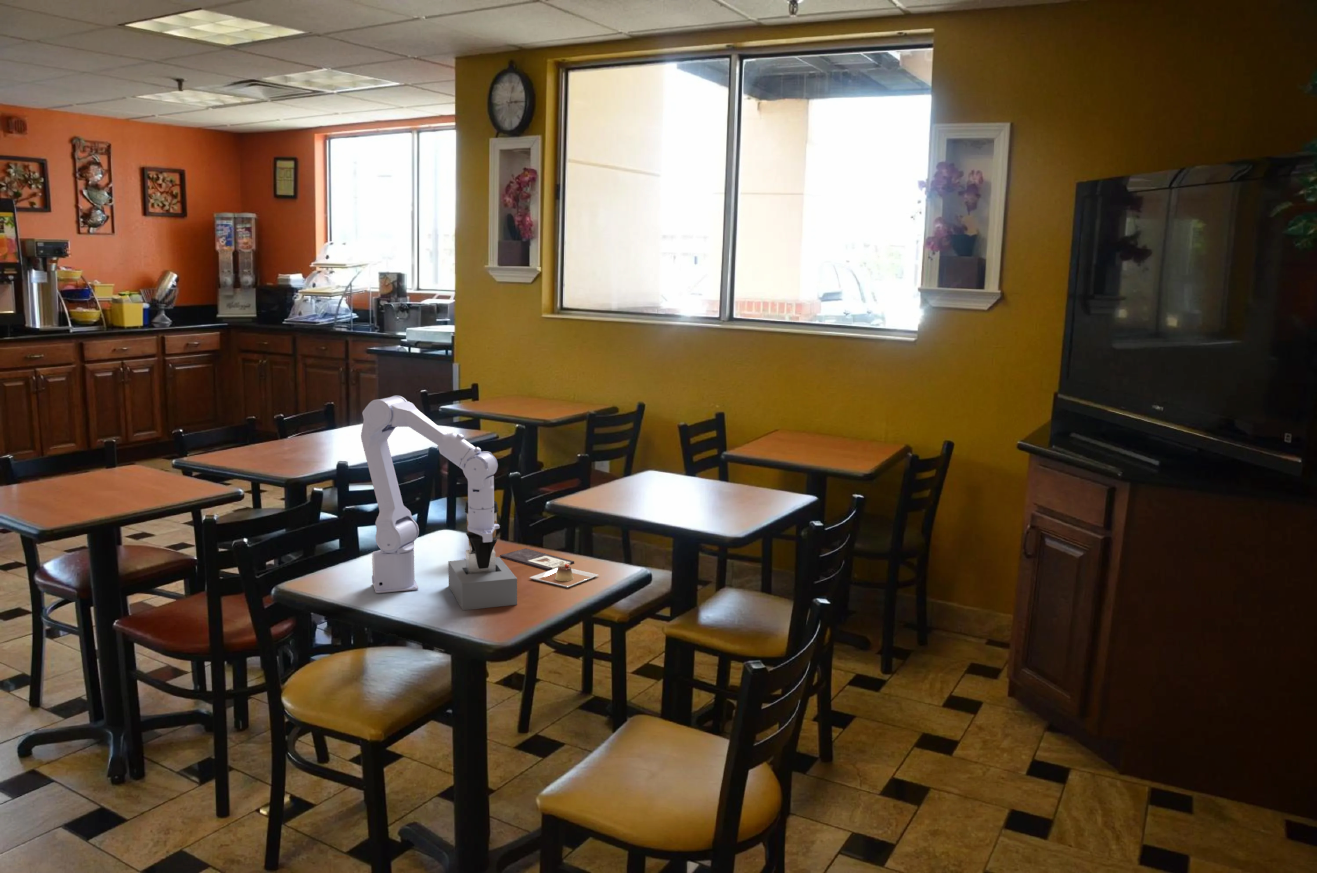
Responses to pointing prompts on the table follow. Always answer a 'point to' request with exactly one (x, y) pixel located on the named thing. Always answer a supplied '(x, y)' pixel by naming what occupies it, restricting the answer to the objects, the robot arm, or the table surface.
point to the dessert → (563, 574)
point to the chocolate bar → (536, 559)
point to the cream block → (473, 566)
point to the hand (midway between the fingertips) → (481, 565)
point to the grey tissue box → (482, 586)
